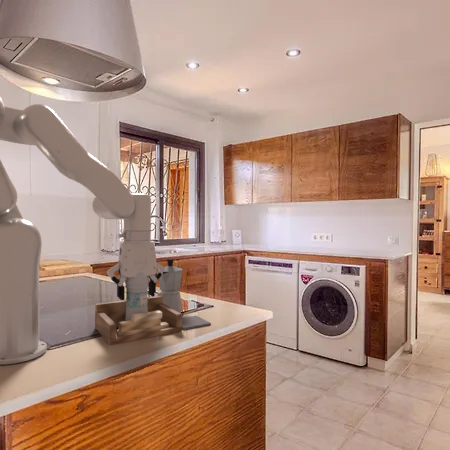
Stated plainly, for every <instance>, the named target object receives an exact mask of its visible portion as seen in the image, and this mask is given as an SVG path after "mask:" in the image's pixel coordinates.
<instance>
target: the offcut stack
mask: <svg viewBox="0 0 450 450" xmlns="http://www.w3.org/2000/svg"><path fill="white" fill-rule="evenodd" d="M161 318H162V312H161V311H152V312H145V313H139V314H132V320H130V321H123V322H119V326H118V329H116V337H121V336H126V335H132V334H137V333H143V332H149V331H154V330H160V329H165V328H169V324H168V323H166V322H161Z"/></svg>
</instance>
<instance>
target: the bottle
mask: <svg viewBox="0 0 450 450" xmlns="http://www.w3.org/2000/svg"><path fill="white" fill-rule="evenodd" d="M149 281H150V279H149V277H146V276H145V275H144V273H143V272H139V273H138V274H137V276H136V277H134V278H127V279H126V280H125V282H124V284H125V285H124V287H125V290H126V291H125V294H126V295H125V296H126V297H125V298H126V299H125V300H126V318H125V321H130V320H132V314H139V313H145V312H148V310H147V297H148V296H149V294H148V292H149Z"/></svg>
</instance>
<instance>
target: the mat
mask: <svg viewBox="0 0 450 450" xmlns="http://www.w3.org/2000/svg"><path fill="white" fill-rule="evenodd" d="M211 324H212V323H211V322H210V321H208V320H207V319H204V318H202V317H200V316H198V315H190V316H185V317H182V330H183V331H185V330H190V329H191V330H192V329H196V328H201V327H206V326H207V327H208V326H211Z"/></svg>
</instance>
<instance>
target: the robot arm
mask: <svg viewBox="0 0 450 450" xmlns="http://www.w3.org/2000/svg"><path fill="white" fill-rule="evenodd" d="M0 141H3V142H9V143H14V144H20V145H26V146H27V145H28V146H36V147H37V149H38V150H39V151H40V152H41V153H42V154H43V155H44V156H45V157H46V159H47V160H48V161H49V162H50V163H51V164H52V165H53V166H54V167H55V168H56V170H57V171H58V172H59V173H60V174H62V175H63V176H64V177H66V178H68V179H69V180H71V181H73V182H76V183H79V184H80V185H82V186H83V187H84V188H85V189H87V190H88V191H90V193H92V194H93V195H94V196H95V197H94V199H93V200H92V210H93V212H94V213H95V214H96V215H97V217H100V218H102V219H104V220H123V231H122V232H120V233H118V238H119V239H122V240H123V241H121V242H120V247H119V253H118V263H116V264H115V265H113V266H112V267H110V268H109V269H108V270H106V274H107V276H108V277H109V278H110V280H111V281H112V282H113V283H114V284H116V295H117V298H118V299H119V301H123V300H126V299H125V298H126V297H125V296H126V295H125V294H126V291H125V290H126V287H125V285H124V284H125V280H126V279H127V278H134V277H136V276H137V274H138V273H139V272H143V273H144V275H145V276H146V277H148V278H149V286H148V296H149V297H155V296H156V295H155V294H156V292H157V283H158V282H159V278H160V277H161V276H162V273H163V272H164V270H165V267H166V266H164V265H162V264H160V263H159V262H157V255H156V254H157V253H156V246H155V243H154V242H155V241H153V240H152V237H151V236H152V234H151V233H152V231H151V229H152V200H151V199H152V198H151V196H150V195H149V194H148V193H138V192H137V193H136V192H134V193H133V192H132V193H131V191H129V189H128V188H127V187H126V186H125V184H124V183H123V182H122V180H121V179H119V177H118V176H117V175H116V174H115V173H114V172H113V171H112V170H111V169H110V168H109V167H107V166H106V165H105V164H103V163H102V162H101V161H100V160H98V159H97V158H96V157H94V156H93V155H92V154H91V153H89V151H88V150H87V149H86V148H85V147H84V145H82V143H81V142H80V141H79V140H78V139H77V137H76V136H75V135H74V134H73V132H72V131H71V130H70V129H69V128H68V127H67V125H66V124H65V122H63V120H62V119H61V118H60V117H59V116H58V115H57V113H55V111H54V110H53V109H52V108H50V107H49V106H47V105H45V104H42V103H40V104H39V103H38V104H37V103H35V104H31V105H29V106H27V107H25V108H24V109H18V108H12V107H8V106H5V103H4V101H3V99H2V98H1V97H0ZM17 201H18V191H17V189H16V187H15V185H14V183H13V181H12V180H11V178H10V176H9V174H8V172H7V171H6V168H5V166H4V164H3V162H2V161H1V159H0V365H13V364H14V365H15V364H21V363H24V362H28V361H31V360H33V359H36V358H39V357H40V356H42V355H43V354H44V353H45V352H47V349H48V348H47V347H48V345H47V343H46V342H45V341H43V340H40V266H41V264H40V263H41V254H42V246H43V245H42V242H43V241H42V237H41V234H40V231H39V229H38V227H37V226H36V225H35V224H34V223H32V222H31V221H29V220H28V219H24V217H23V215H22V214H21V212H20V210H19V208H18V206H17ZM117 271H118V272H117ZM116 272H117V274H118V275H119V276H118V278H117V277H116V275H115V273H116Z"/></svg>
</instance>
